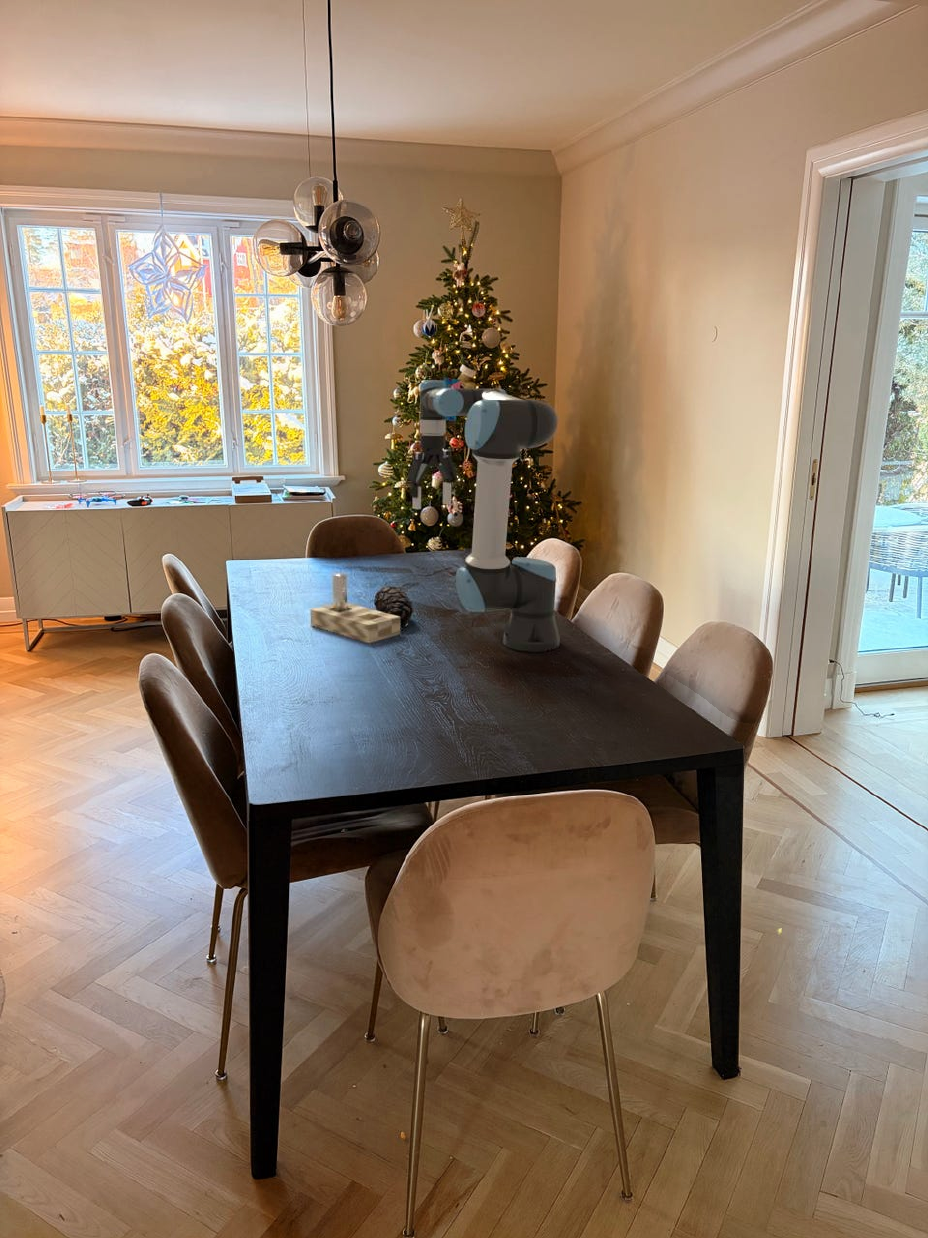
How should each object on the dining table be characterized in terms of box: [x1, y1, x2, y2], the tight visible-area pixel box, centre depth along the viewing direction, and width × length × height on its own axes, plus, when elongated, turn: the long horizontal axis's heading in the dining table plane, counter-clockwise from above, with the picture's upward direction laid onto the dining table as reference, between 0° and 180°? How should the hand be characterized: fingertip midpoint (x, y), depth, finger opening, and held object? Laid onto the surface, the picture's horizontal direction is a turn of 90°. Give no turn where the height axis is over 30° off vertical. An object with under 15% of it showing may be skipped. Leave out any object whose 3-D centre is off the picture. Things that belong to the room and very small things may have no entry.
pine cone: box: [373, 585, 415, 628], centre depth 260 cm, size 10×18×10 cm, turn 26°
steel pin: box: [331, 572, 348, 612], centre depth 253 cm, size 4×4×14 cm
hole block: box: [309, 602, 401, 644], centre depth 251 cm, size 24×12×5 cm, turn 49°
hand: (432, 506), depth 268 cm, fingers open, 13 cm apart
